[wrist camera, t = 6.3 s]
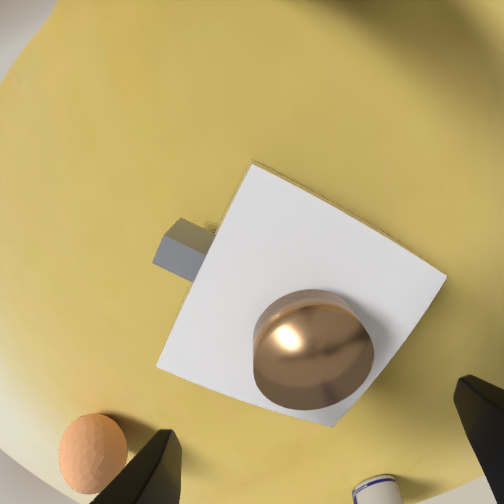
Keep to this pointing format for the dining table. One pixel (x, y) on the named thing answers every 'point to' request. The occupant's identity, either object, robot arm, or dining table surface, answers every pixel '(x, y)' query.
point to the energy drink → (377, 491)
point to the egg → (92, 453)
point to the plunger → (310, 350)
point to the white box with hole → (284, 283)
